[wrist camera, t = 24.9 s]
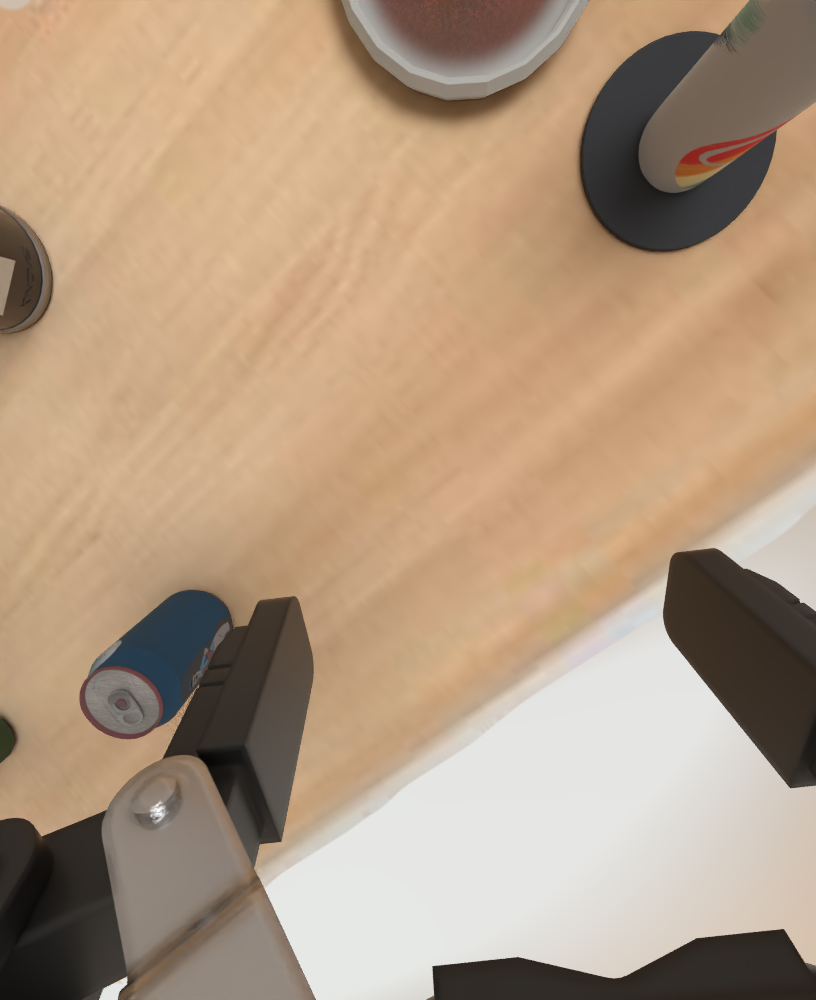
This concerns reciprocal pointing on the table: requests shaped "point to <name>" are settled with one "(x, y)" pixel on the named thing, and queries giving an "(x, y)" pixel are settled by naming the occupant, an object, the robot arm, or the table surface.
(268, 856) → the table surface
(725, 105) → the lotion bottle
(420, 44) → the frying pan
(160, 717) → the soda can
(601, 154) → the trivet
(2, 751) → the character mug
